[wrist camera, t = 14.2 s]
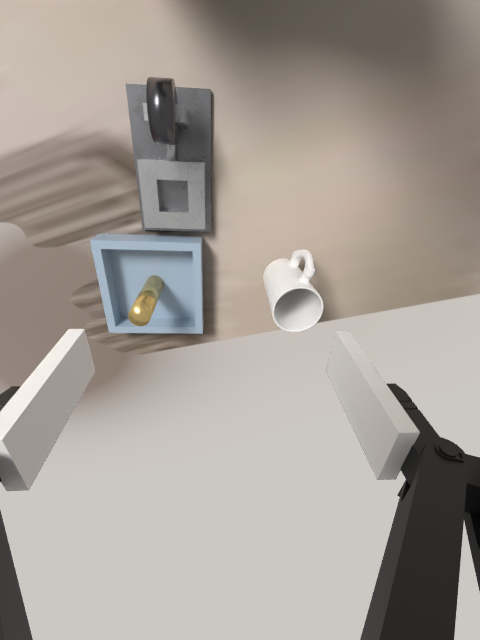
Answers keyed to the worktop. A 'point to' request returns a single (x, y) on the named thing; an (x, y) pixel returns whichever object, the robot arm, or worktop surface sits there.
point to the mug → (293, 293)
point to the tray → (137, 266)
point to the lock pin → (146, 301)
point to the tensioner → (172, 154)
